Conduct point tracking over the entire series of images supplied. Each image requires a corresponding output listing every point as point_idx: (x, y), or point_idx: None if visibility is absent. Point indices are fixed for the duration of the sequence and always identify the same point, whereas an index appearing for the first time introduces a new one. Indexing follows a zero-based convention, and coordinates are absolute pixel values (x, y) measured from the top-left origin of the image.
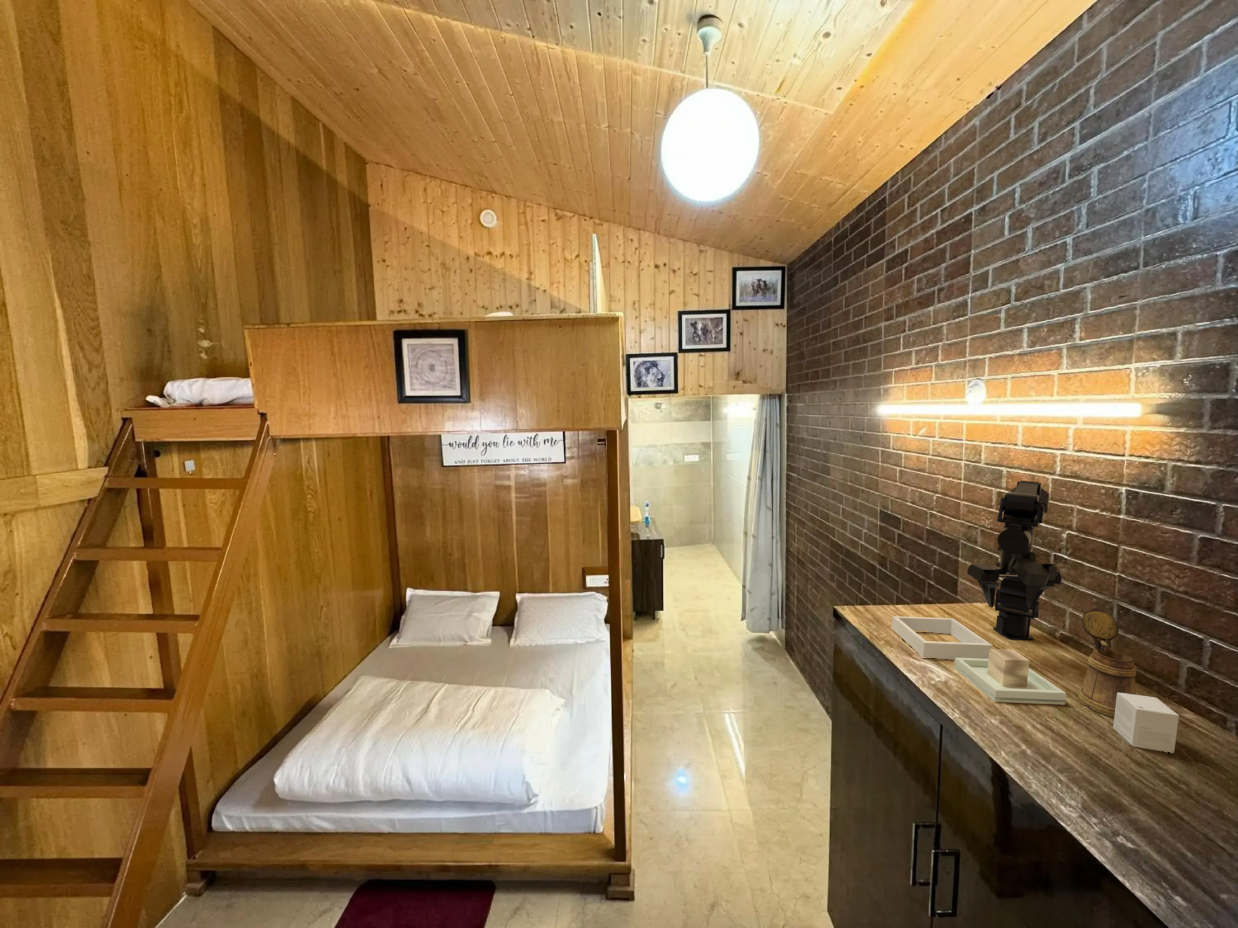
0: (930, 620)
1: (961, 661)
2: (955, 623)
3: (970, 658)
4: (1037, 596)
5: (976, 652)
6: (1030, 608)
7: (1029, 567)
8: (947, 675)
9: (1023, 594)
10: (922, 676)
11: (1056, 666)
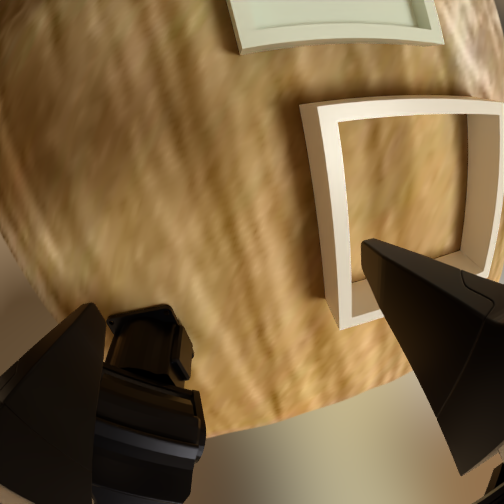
0: None
1: (435, 20)
2: (350, 296)
3: (406, 37)
4: (24, 362)
5: (362, 99)
6: (92, 303)
7: None
8: (446, 10)
9: (111, 434)
10: (486, 15)
11: (90, 142)
